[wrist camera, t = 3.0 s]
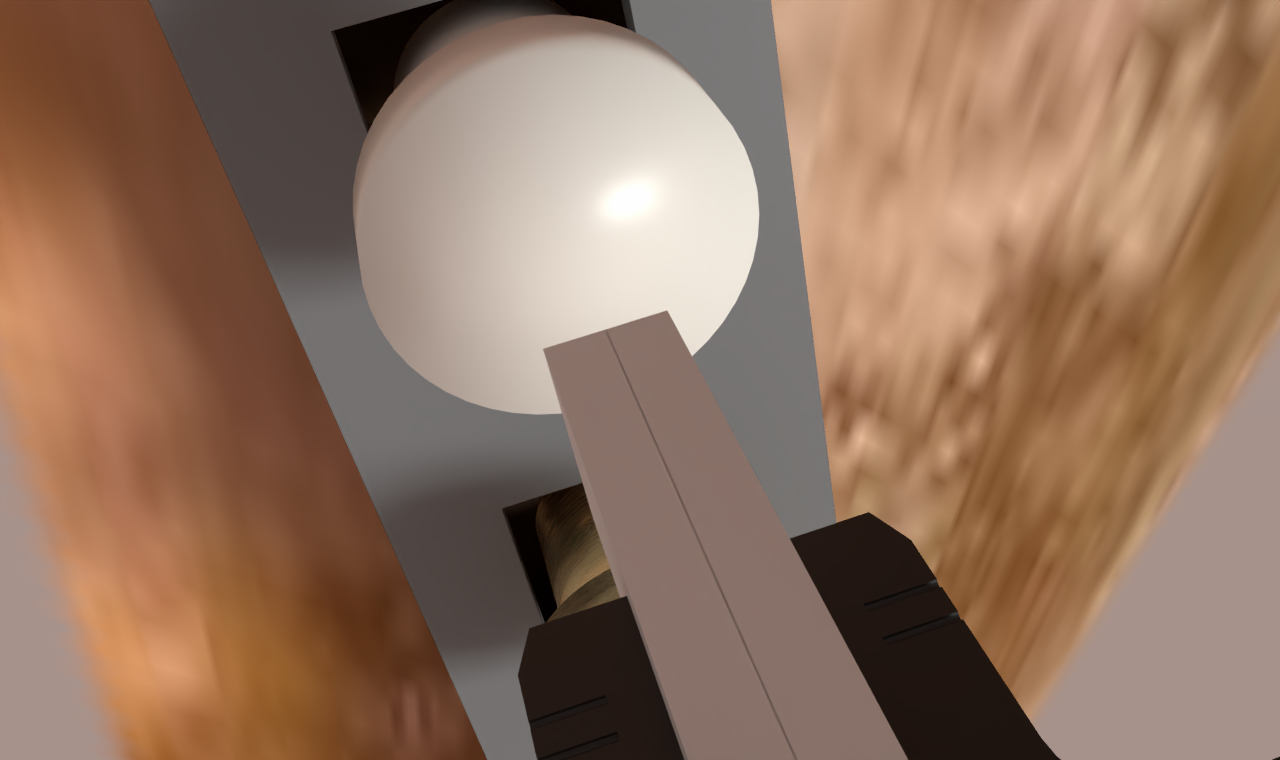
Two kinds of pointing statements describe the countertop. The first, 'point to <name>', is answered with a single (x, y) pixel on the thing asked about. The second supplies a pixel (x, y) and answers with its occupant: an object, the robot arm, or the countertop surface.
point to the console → (436, 420)
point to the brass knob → (573, 552)
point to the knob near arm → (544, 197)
